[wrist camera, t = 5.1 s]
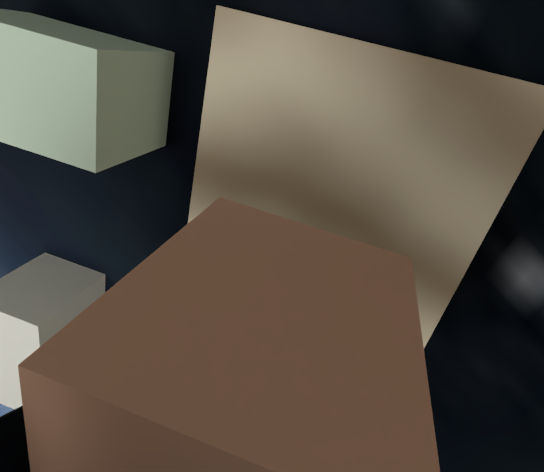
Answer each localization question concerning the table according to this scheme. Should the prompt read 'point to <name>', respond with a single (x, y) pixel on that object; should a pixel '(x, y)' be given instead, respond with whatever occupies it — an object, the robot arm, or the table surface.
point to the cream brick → (39, 311)
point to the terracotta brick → (239, 359)
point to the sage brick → (80, 92)
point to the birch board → (363, 143)
